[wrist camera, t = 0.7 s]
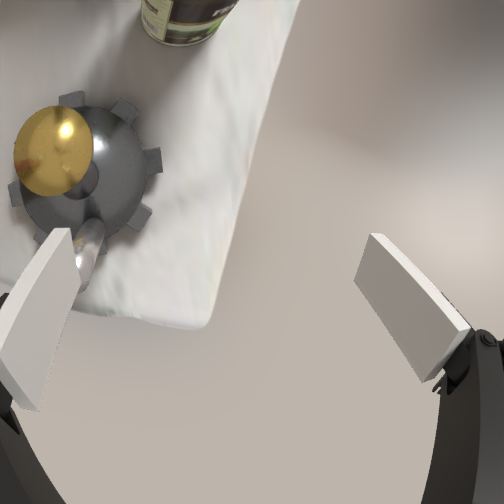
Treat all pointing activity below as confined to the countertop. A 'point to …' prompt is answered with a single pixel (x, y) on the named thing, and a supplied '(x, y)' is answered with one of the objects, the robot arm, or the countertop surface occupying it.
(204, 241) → the countertop surface
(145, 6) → the coffee can
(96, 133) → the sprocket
